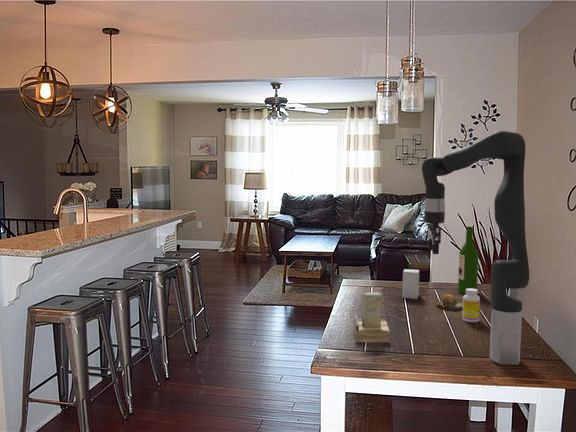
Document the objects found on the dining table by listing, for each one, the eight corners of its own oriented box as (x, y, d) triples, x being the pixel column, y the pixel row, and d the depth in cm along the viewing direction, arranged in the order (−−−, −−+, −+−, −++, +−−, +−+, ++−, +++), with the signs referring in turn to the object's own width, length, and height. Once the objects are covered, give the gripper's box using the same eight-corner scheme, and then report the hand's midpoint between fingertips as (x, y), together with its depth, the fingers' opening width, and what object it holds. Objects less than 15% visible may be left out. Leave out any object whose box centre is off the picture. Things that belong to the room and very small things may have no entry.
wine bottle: (454, 291, 273) (456, 226, 269) (469, 289, 275) (471, 225, 272) (465, 295, 264) (467, 228, 261) (480, 294, 267) (483, 227, 263)
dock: (389, 342, 197) (389, 326, 196) (355, 341, 198) (356, 325, 197) (385, 330, 211) (385, 315, 210) (354, 329, 212) (354, 314, 211)
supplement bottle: (480, 323, 220) (481, 291, 219) (463, 322, 221) (464, 291, 220) (478, 318, 227) (479, 288, 225) (461, 317, 228) (462, 287, 227)
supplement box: (417, 299, 258) (418, 272, 256) (401, 297, 260) (402, 271, 258) (419, 295, 265) (419, 269, 263) (403, 294, 267) (404, 268, 265)
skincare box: (365, 327, 202) (365, 295, 200) (361, 324, 206) (362, 292, 205) (381, 326, 203) (382, 294, 201) (377, 323, 207) (378, 291, 206)
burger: (469, 309, 241) (470, 293, 240) (447, 312, 237) (448, 295, 236) (452, 302, 252) (452, 287, 251) (430, 305, 248) (431, 289, 247)
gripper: (448, 212, 201) (447, 255, 203) (440, 208, 215) (439, 249, 217) (427, 211, 202) (426, 255, 204) (421, 208, 216) (420, 249, 218)
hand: (433, 252), depth 210 cm, fingers open, 8 cm apart
